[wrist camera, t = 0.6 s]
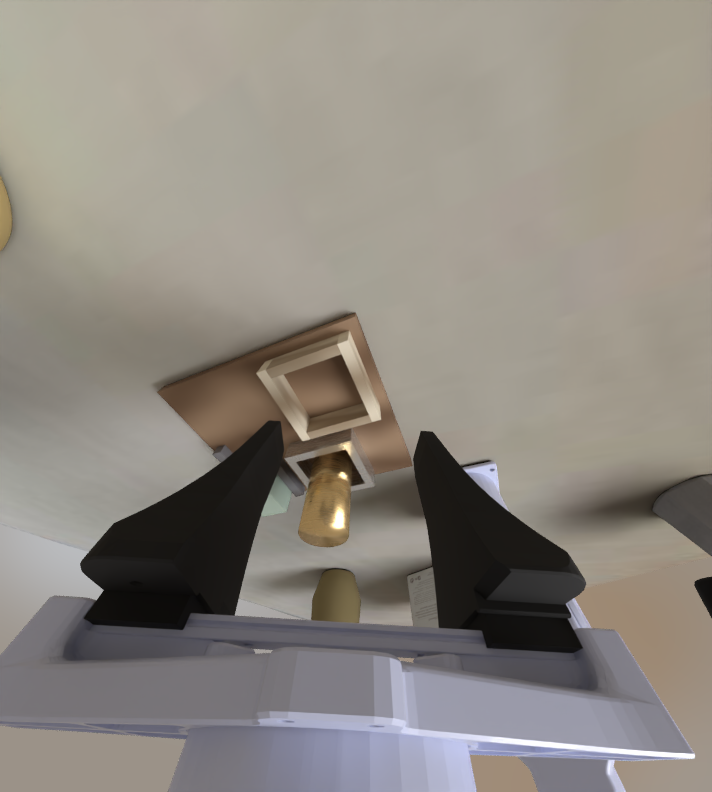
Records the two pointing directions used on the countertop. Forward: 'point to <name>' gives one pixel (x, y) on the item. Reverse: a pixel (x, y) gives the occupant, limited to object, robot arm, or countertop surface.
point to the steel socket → (327, 444)
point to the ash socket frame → (293, 408)
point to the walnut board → (253, 406)
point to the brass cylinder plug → (327, 501)
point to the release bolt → (277, 498)
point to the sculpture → (4, 216)
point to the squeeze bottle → (336, 598)
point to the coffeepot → (691, 520)
